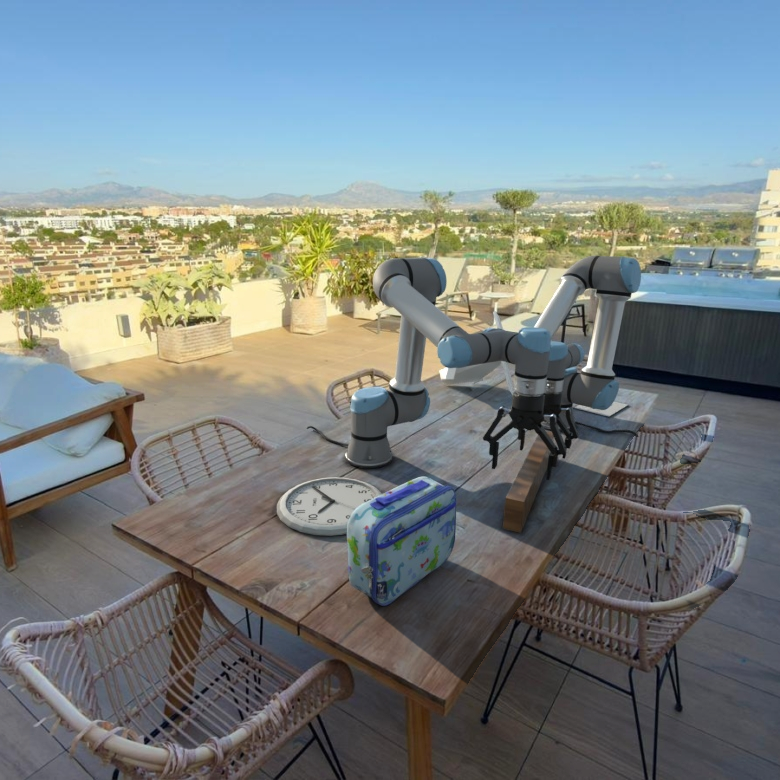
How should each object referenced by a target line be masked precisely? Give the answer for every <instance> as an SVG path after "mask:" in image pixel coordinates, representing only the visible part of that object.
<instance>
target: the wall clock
mask: <svg viewBox="0 0 780 780" xmlns="http://www.w3.org/2000/svg"><path fill="white" fill-rule="evenodd" d="M381 494H384V492H382V491H381V490H380V489H379V488H377V487H376V486H374V485H372V484H371V483H369V482H365V481H362V480H359V479H355V478H349V477H338V476H337V477H335V476H333V477H332V476H331V477H322V478H317V479H312V480H307V481H305V482H302V483H299V484H297V485H295V486H293V487H292V488H290V489H288V490H287V491H286V492H285V493H284V494H283V495H281V496H280V498H279V499H278V502H277V503H276V515H277V517H278V518H279V520H280V521H281V522H282V523H283V524H285V525H286V526H287V527H288V528H290V529H293V530H295V531H297V532H299V533H303V534H308V535H312V536H327V537H328V536H329V537H331V536H332V537H333V536H342V535H347V525H348V521H349V518H350V516H351V514H352V513H353V511H354V510H355V509H356V508H357V507H358V506H360V505H362V504H363V503H365V502H368V501H370V500H372V499H374V498H376V497H378V496H380V495H381Z"/></svg>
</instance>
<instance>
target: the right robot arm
mask: <svg viewBox="0 0 780 780" xmlns="http://www.w3.org/2000/svg"><path fill="white" fill-rule="evenodd" d="M641 281H642V269H641V265H640V262H639V261H638V259H636V258H634V257H627V256H610V255H609V256H608V255H590V256H586V257H584V258H581V259H579V260H578V261H576V262H575V263H573V264H572V265H571V266H570V267H569V268H567V270H566V271H565V272H564V273H563V275H562V276H561V278H560V279H559V281H558V282H559V283H558V285H559V286H558V288H557V289H556V290H555V292H554V294H553V296H552V297H551V299H550V300H549V302H548V304H547V305H546V307H545V308H544V310H543V312H542V314H540V317H539V318H538V319H537V322H536V323H535V325H534V326H533V327H536V328H543V329H546V330H548V331H549V332H550V334H551V346H550V347H551V350H550V355H549V362H548V369H547V382H546V390H545V393H544V395H545V400H544V409H543V412H544V415H552V414H556V423H557V425H558V428H559V430H560V432H562V433H563V435H564V437H565V438H564V443H565V446H566V448H567V450H570V449H571V447H572V440H577V439H579V432H578V429H577V426H578V425H579V426H581V427H585V428H588V429H592V430H595V431H597V432H601V433H604V434H614V433H629V434H632V435H633V436H634V437H636V438H639V437H640V436H639V435H638V434H637V432H635V431H634V430H629V429H611V430H606V429H601V428H599V427H596V426H593V425H589V424H586V423H582V422H579V421H576V418H575V417H576V416H575V413H574V407H573V405H574V404H575V405H577V406H578V405H582V406H586V407H590V408H592V409H599V410H606V409H608V408H609V407H610V406H611V405H612V404H613V402H615V400H616V398H617V396H618V394H619V389H620V382H619V381H618V379H615V378H616V373H615V372H614V370H613V364H614V360H615V354H616V350H617V345H618V340H619V335H620V330H621V325H622V319H623V315H624V310H625V306H626V305H625V304H626V302H627V301H629V300H630V299H631V298H632V294H635V293H637V292H638V290H639V288H640V286H641ZM590 289H591V290H595V295H596V297H597V299H598V304H597V309H596V314H595V318H594V325H593V330H592V336H591V341H590V346H589V353H588V356H587V361H586V365H585V366H584V367H583V368H581V371H580V372H578V368H577V366H578V365H580V364H582V363H583V361H584V359H585V355H586V354H585V350H584V348H583V347H582V345H580V344H579V343H575V342H570V343H569V342H568V343H565V342H562V341H556V340H555V341H553V338H554V337H555V335H556V334H557V332H558V331H559V329H560V327H561V326H562V324H563V322H564V321H565V319H566V317H567V316H568V314H569V312H570V311H571V309H572V307H573V306H574V304H575V303H576V301H577V299H579V296H580V297H581V296H582V295H583V294H585V292H586V290H590ZM541 424H542V425H543V427H544V429H545V430H549V431H551V428H550V424H548V423H547V421H546V420H543V421H542V422H541ZM576 425H577V426H576ZM512 429H515V430H517V431H518V432H517V440H519V441H520V444H519V451H522V452H523V450H524V447H525V440H526V429H518V427H516V426H515V427H513V428H512ZM567 450H566V453H565V455H562V459H563V460H565V459H566V456H567Z"/></svg>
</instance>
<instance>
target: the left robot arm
mask: <svg viewBox="0 0 780 780" xmlns="http://www.w3.org/2000/svg"><path fill="white" fill-rule="evenodd" d="M447 283H448V282H447V274H446V271H445V269H444V267H443V265H442V263H441V262H440V261H439V260H437V259H436V258H433V257H424V256H420V257H403V258H402V257H401V258H400V257H399V258H398V257H394V258H389V259H386V260H384V261H383V262H382V263H380V264H379V265H378V267H377V268H376V269H375V271H374V273H373V277H372V288H373V291H374V294H375V295H376V297H377V298H378V299H379V301H381V303H383V305H385V306H386V307H388V308H394V310H396V311H397V312H398V313H399V314H400V322H399V323H400V324H399V334H398V343H397V352H396V361H395V362H396V363H395V371H394V372H395V373H394V377H392V378H391V379H390V380H389V384H388V389H387V388H385V387H382V386H366V387H363V388H360V389H358V390H356V391H355V392H354V393H352V396H351V399H350V408H349V409H350V439H349V442H348V443H344V442H340V441H337V440H333V439H331V438H328V437H327V436H325V434H323V432H322V431H321V430H319V429H318V428H316V427H315V426H313V425H308V426H307V427H306V429H307V430H308V429H312V430H314V431H315V432H317V433H319V434H320V435H321V437H322V438H323V439H325V441H328V442H330V443H332V444H333V443H334V444H337V445H339V446H340V445H341V446H344V447H345V446H346V447H347V449H346V451H345V461H346V462H347V464H349V465H350V466H353V467H355V468H359V469H379V468H382V467H386V466H387V465H389V464H391V463H392V461H393V451H392V448H391V445H390V441H389V438H388V427H392V426H396V425H400V424H405V423H413V422H415V421H417V420H422V419H423V418H424V417H425V416H426V415H427V414H428V412H429V410H430V406H431V397H429V395H430V393H429V391H428V389H427V388H426V386H425V383H424V382H423V381H422V376H423V375H422V374H423V366H424V358H425V350H426V342H427V340H429V342H431V343H432V344H433V345H434V346H435V347H436V348H437V349H436V354H437V358H438V359H439V362H440V364H441V365H442V366H443V367H444V368H446V367H447V368H462V367H466V366H472V365H477V364H484V363H490V362H496V361H504V362H507V364H512V365H514V377H513V385H514V387H513V389H514V390H515V391H514V392H513V395H512V400H511V409H510V408H506V407H505V406H504V405H501V406H500V407H499V408H498V410H497V414H496V417H495V418H494V420H493V422H491V425H490V426H489V428H488V429H487V430H486V432H485V434H484V435H483V437H482V440H483V441H484V442H488V443H489V449H488V454H489V456H491V457H492V460H491V461H492V462H491V469H492V470H495V469H496V468H497V466H498V461H499V450H500V449H499V448H500V442H499V440H501V438H503V437H504V436H505V435H506V434H507V433H509V432H510V431H511V430H513V429H514V428H513V427H515V426H516V427H518V429H525V431H533V430H534V432H535V433H536V434H537V436H538V435H539V436H540V438H541V439H542V440H543V442H544V443H545V445H546V446H547V447H548V449H549V450H550V454H549V459H548V467H547V469H546V476H545V479H546V481H550V480H551V477H552V469H553V468H556V467H557V466H558V458H559V456H560V455H562V456H563V455H565V453H566V454H567V451H566V450H568V448H566V446H565V443H564V442H565V440H564V438H563V435H562V433H561V431H560V430H559V428H558V425H557V423H556V414H552V415H544V412H543V409H544V400H545V395H544V393H545V390H546V382H547V369H548V362H549V355H550V350H551V347H550V346H551V341H552V340H551V334H550V332H549V331H548V330H546V329H543V328H536V327H534V326H527V327H526V326H525V327H521V328H520V329H519V330H518V332H514V331H510V330H505V329H503V330H502V329H500V328H497V327H487V328H486V329H484V330H483V331H481V332H477V333H469V332H467V331H466V330H465V329H464V328H463V327H461V326H460V325H459V324H457V323H456V322H455V321H454V320H453V319H452V318H450V317H449V316H448V315H447V314H445V312H443V311H442V310H441V309H439V308H438V307H437V306H436V304H437V303H436V302H437V298H438V297H441V296H442V295H443V293H445V291H446V289H447ZM507 415H508V416H509V418H510V419H511V420H510V421H509V422H508V423H507V424H505V426H504V427H503V428H502V429H500V430H499V431H498V432H497V433H496V434H494V435H493V436H492V434H493V432H494V431H495V429H496V428H497V427H498V425H499V423H500V422H501V421H502V419H503V418H505V417H506V416H507ZM543 420H546V421H547V423H548V424H550V428H551V430H550V432H552V433H553V436H554V440H553V441H552V439H551V438H550V436H549V435H548V434H547V432H548V431H547V430H546V429H544V427H543V425H542V424H541V422H542V421H543ZM518 429H517V430H518ZM546 431H547V432H546ZM554 441H555V442H554Z"/></svg>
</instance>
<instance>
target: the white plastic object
mask: <svg viewBox="0 0 780 780" xmlns="http://www.w3.org/2000/svg"><path fill="white" fill-rule="evenodd" d="M492 315H493V319H494V321H495V324H496V325H495V326H496V329H497V328H500V329H502V330H504V328H503V325H502V321H501V318H500V315H499V314H498V312H497V311H496V310H495V311H492ZM500 366H502V370H503V373H504V376H505V380H506V383H507V386H508V390H509V393H510V394H511V395H512V396H513V392H514V391H515V390H514V389H513V387H514V380H513V378H512V375H511V371H510V369H509V365H508V362H504V361H496V362H490V363H484V364H477V365H472V366H466V367H462V368H447V367H444V368H442V369H440V370H439V371H438V372H439V376H440V381H442V383H443V384H444V385H445V386H449V385H458V384H467V383H468V384H469V383H473V384H477V383H480V382H482V381H484V378H485V377H486V376H487V375H489V374H490V373H492V372H494V371H495V370H496V369H497V368H499V367H500Z"/></svg>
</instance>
